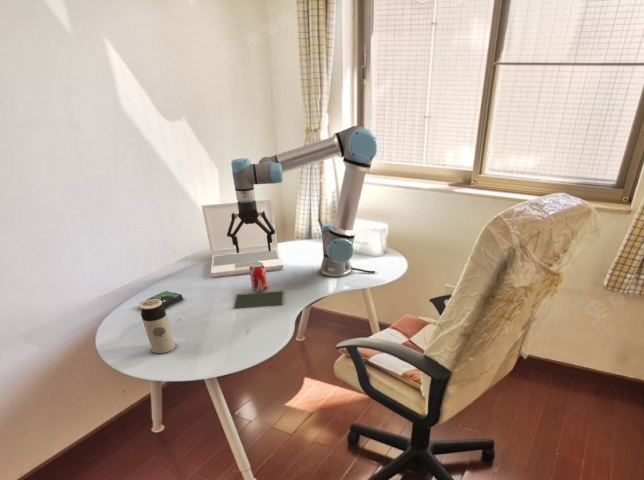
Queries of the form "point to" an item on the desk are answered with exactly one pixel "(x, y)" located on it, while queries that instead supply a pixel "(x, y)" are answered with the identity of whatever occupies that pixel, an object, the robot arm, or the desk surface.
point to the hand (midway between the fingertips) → (254, 251)
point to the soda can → (258, 277)
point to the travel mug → (157, 326)
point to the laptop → (240, 240)
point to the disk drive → (167, 298)
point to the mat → (258, 300)
